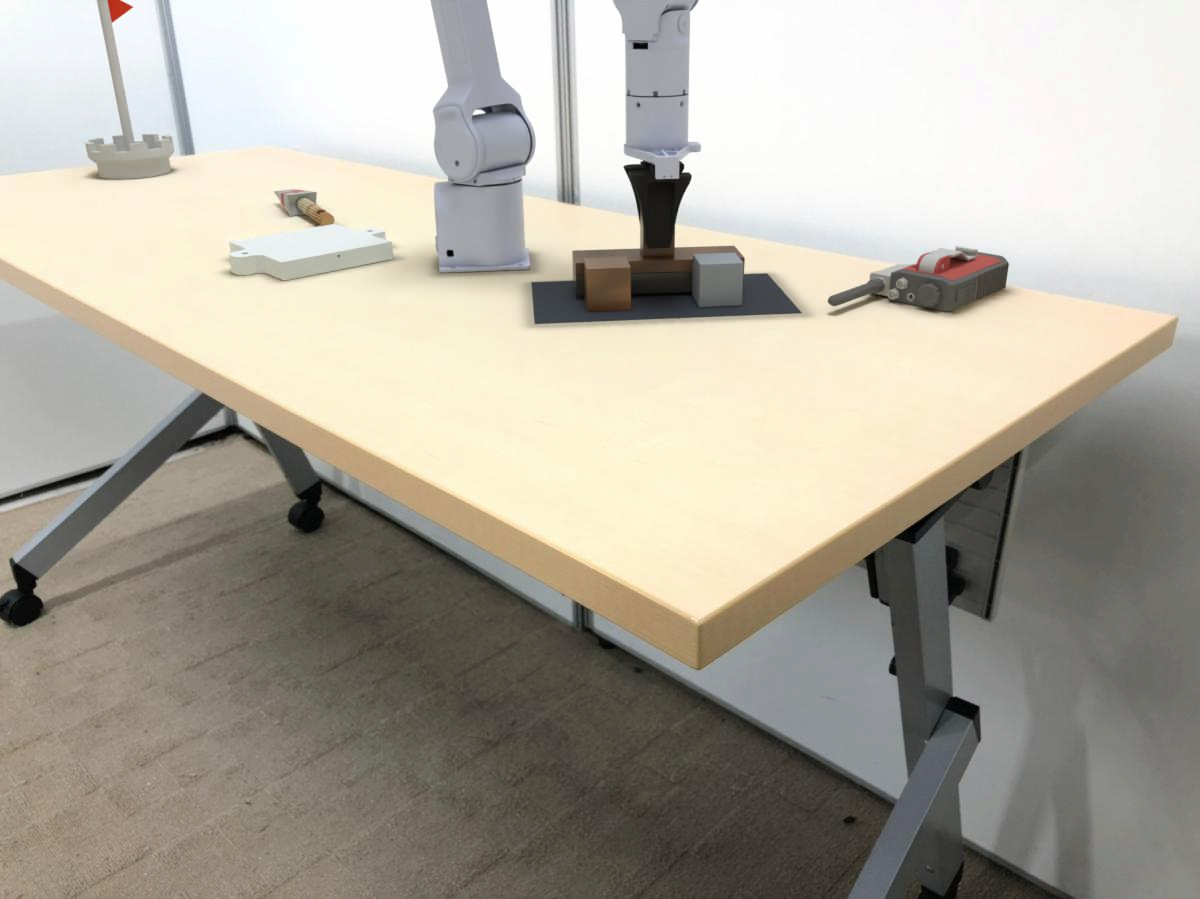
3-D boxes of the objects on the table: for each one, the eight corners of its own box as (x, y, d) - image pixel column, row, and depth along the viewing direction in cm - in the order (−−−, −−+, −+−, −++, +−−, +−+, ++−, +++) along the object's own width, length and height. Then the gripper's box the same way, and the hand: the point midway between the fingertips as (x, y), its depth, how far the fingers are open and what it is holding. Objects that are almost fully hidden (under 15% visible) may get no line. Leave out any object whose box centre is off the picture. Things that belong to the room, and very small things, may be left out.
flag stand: (124, 182, 165) (82, -29, 153) (75, 176, 172) (31, -28, 159) (194, 170, 175) (160, -30, 163) (145, 164, 182) (109, -28, 169)
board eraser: (576, 296, 100) (574, 219, 97) (572, 282, 105) (571, 209, 102) (743, 290, 101) (746, 215, 98) (733, 277, 106) (736, 204, 103)
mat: (534, 325, 94) (534, 323, 94) (531, 284, 106) (531, 282, 106) (802, 314, 95) (802, 312, 95) (767, 275, 108) (767, 273, 108)
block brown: (587, 311, 97) (586, 268, 95) (584, 299, 100) (583, 257, 99) (631, 310, 97) (630, 267, 95) (626, 298, 101) (626, 256, 99)
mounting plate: (260, 285, 108) (257, 266, 107) (209, 262, 117) (206, 245, 116) (413, 255, 118) (411, 238, 118) (355, 236, 127) (353, 220, 127)
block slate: (699, 307, 97) (700, 264, 96) (692, 295, 101) (692, 253, 99) (742, 305, 98) (743, 262, 96) (733, 293, 101) (735, 252, 100)
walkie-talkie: (933, 271, 108) (819, 314, 95) (938, 228, 106) (822, 266, 94) (1015, 287, 102) (906, 334, 90) (1022, 241, 100) (911, 283, 88)
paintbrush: (296, 178, 148) (340, 208, 132) (298, 197, 149) (343, 230, 133) (268, 180, 146) (310, 211, 130) (270, 200, 147) (312, 233, 132)
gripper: (715, 101, 89) (711, 260, 95) (688, 85, 102) (686, 225, 108) (632, 103, 89) (633, 263, 94) (615, 87, 102) (617, 228, 108)
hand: (656, 243), depth 101 cm, fingers closed on board eraser, 2 cm apart
